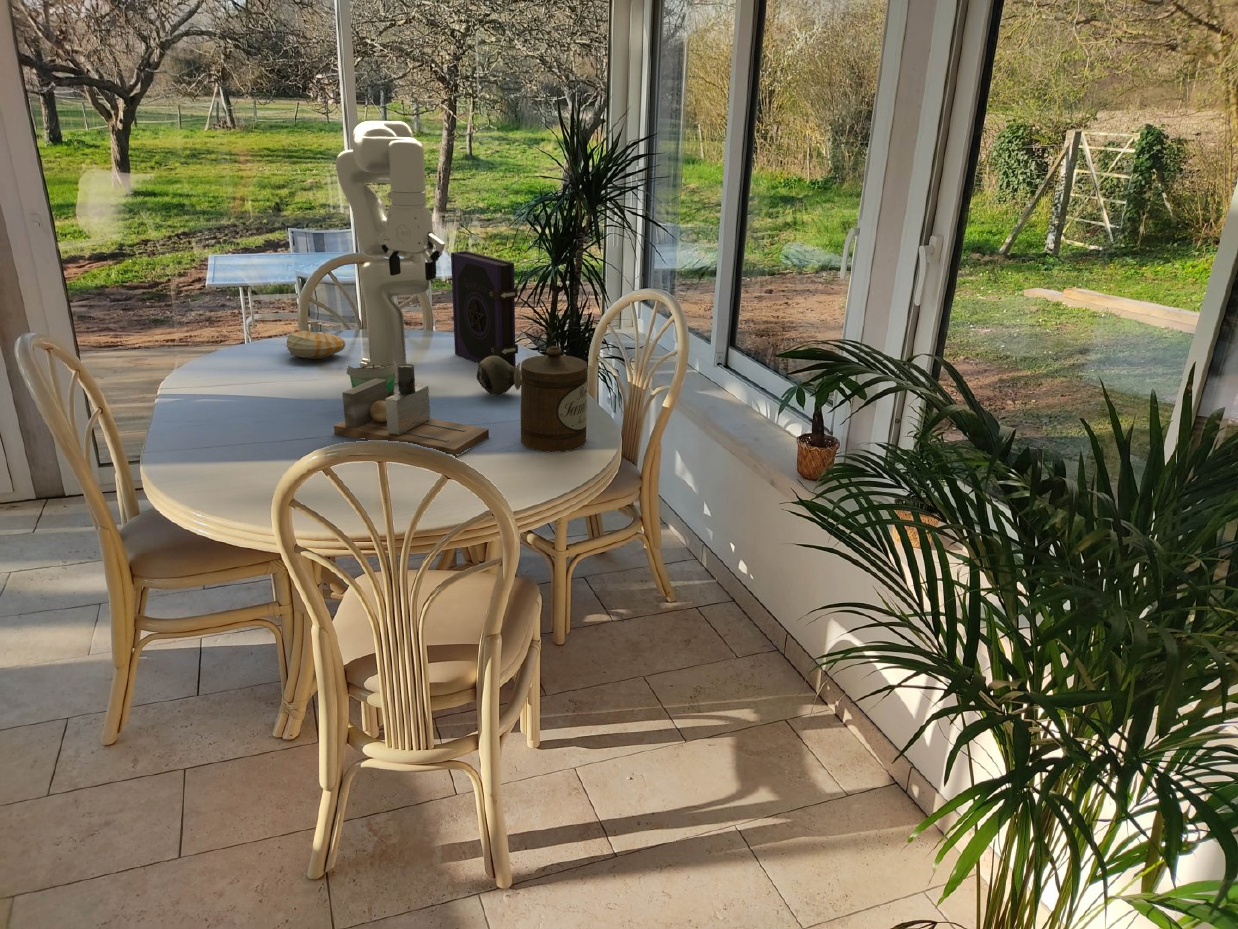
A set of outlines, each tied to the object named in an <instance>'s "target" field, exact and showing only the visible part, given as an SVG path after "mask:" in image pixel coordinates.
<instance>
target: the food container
mask: <svg viewBox="0 0 1238 929" xmlns="http://www.w3.org/2000/svg"><path fill="white" fill-rule="evenodd" d="M396 372H397V366H396V363H395V361H394V364H389V365H369V366H365V367H352V366H350V365H349V364H348V366H347V368H346V374H347V375H348V376H349V378H350V383H351V388H354V387H356V386H358V385H361V384H363V383H366V382H368V381H370V380H373V379H375V378H378V379H384V380H387V393H388V397H390V396H392V395H394V394H395V383H394V377H395V373H396Z"/></svg>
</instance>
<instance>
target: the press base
mask: <svg viewBox="0 0 1238 929" xmlns="http://www.w3.org/2000/svg"><path fill="white" fill-rule="evenodd" d="M341 394H342V402H343V403H342V404H343V411H344V412H343V413H344V414H343V415H344V420H342V421H341V422H339V423H336V424H334V425H333V431H334V433H333V434H334V435H339V436H343V437H349V438H353V439H358V438H365V439H362V440H363V441H368V440H388V441H399V442H408V443H413V444H417V445H420V446H423V447H427V448H433V449H436V450H439V451H442V452H445V453H446V454H452V455H453V456H455V457H456V458H458V457H459V456H457V455H458V454H461V453H462V452H464V451H465V450H467V449H469V448H471V449H473V448H474V447H475V445H476V446H477V445H479V444H481V443H482V442H484V441H485V440H487V439H489V438H490V435H489V434H490V432H489V431H490V430H489V428H485V427H484V428H483V427H478V426H474V425H473V426H472V425H468V424H463V423H458V422H452V421H446V420H440V419H435V418H431V417H430V419H429V420H427V421H425V422H423V423H421V424H420V425H418V426H416V427H414V428H412V429H410V430H408V431H406V432H404V433H402V434H401V435H395V434H390V433H388V428H387V421H386V422H377V421H375V420H374V419H373V418H372V417H371V415H370V408H371V406H372V404H373V403H375V402H376V401H385V399H386V398H388V393H387V380H384V379H378V378H375V379H373V380H370V381H368V382H366V383H363V384H361V385H358V386H356V387H354V388H352V387H351V388H349V389H346V390H344V391H342V393H341ZM480 442H481V443H480ZM478 443H479V444H478ZM469 450H470V449H469ZM464 453H465V452H464ZM456 454H457V455H456ZM461 455H462V454H461Z"/></svg>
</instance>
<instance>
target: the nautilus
mask: <svg viewBox="0 0 1238 929" xmlns="http://www.w3.org/2000/svg"><path fill="white" fill-rule="evenodd" d="M285 333H287V334H289V335H286V334H285V335H284V337H287V339H286V345H285V347H286V348H287V351H289V353H291V354H290V355H293V356H294V357H299V358H304V359H307V358H308V360H316V359H317V360H318V359H322V358H326V357H331V356H333V355H335V354H338V353H341V352H342V351H343V350H344V349H345V347H346V341H345V340H344V339H343V338H342V337H340V336H338V335H336V334H335V335H334V334H332V333H329V332H326V331H321V332H315V331H308V330H300V331H293V330H289V329H288V331H285Z"/></svg>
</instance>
